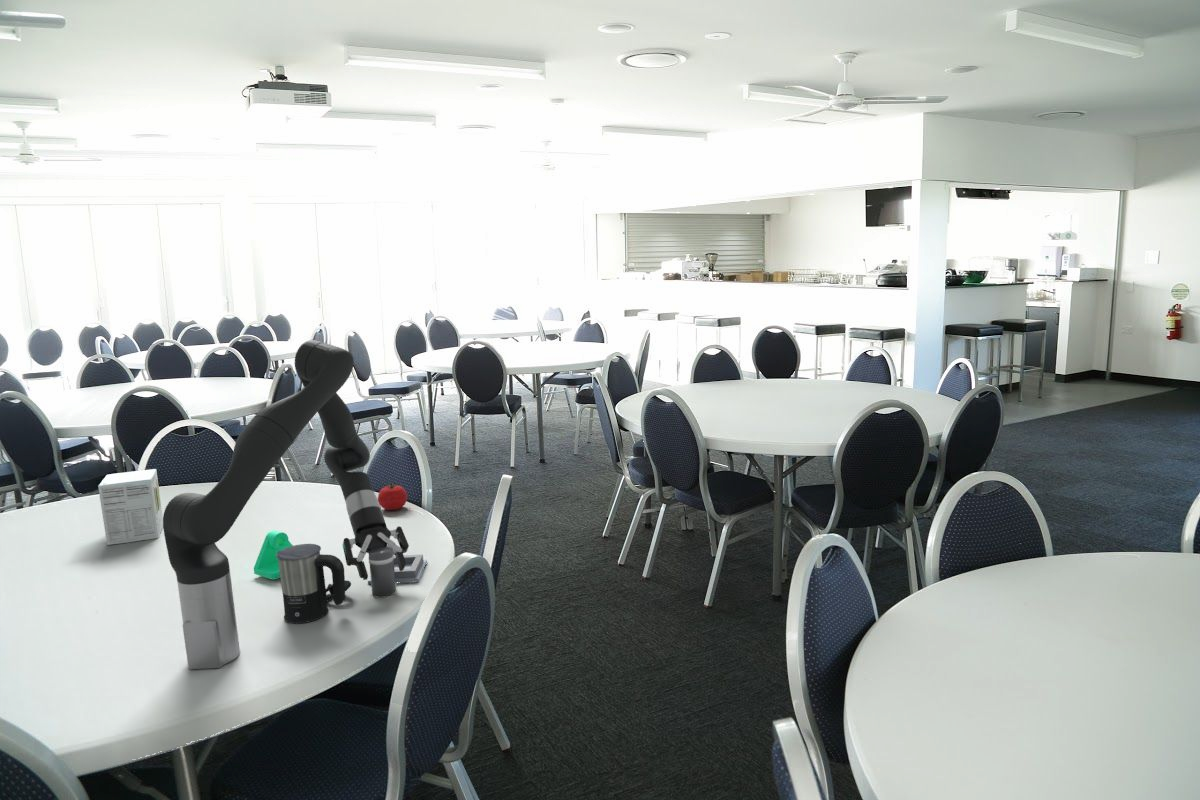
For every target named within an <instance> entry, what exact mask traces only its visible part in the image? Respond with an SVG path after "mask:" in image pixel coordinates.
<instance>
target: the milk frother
mask: <svg viewBox="0 0 1200 800" xmlns="http://www.w3.org/2000/svg"><path fill="white" fill-rule="evenodd" d="M321 550H322V547H321V546H320V545H318V544H316V543H302V544H301V543H300V544H295V545H293V546H290V547H287V548H284V549H282V550H280V551H279V552H277V553H276V557H277V558H278V563H279V571H280V577H279V578H280V587H281V591H282V598H283V608H284V616H283V620H284V621H285V622H287V623H290V624H304V623H310V622H315V621H317V620H319V619H321V618H323V617H324V616H326V615H327V614H328V612H329V608H328V604H330V603H331V602H333V603H334V604H335V605H336V606H340V605H341V604H343V603H344V601H345V600H346V591H348V589H350V587H351V586H352V582H351V581H350V580H345V579H346V578H345V577H346V576H345V567H344V563H343V562H342V561H341V560H340V558H338V557H337V556H335V555H333V554H321ZM324 567H325V568H326V567H327V568H329V570H330V571H331V575H332V576H331V578H332V583H328V585H327V586H326V579H325V571H324ZM328 592H329V594H327V593H328Z"/></svg>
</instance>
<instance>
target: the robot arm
mask: <svg viewBox="0 0 1200 800" xmlns="http://www.w3.org/2000/svg"><path fill="white" fill-rule="evenodd" d="M354 359H355V358H354V356H353V355H352V353H350V351H348V350H347V349H344V348H342V347H340V346H336V345H333V344H330V343H328V342H327V343H326V342H324V341H320V340H314V339H309V340H306V341H305V342H303V343H302V344H301V345H300V346H299V348H297V351H296V353H295V356H294V368H295V371H296V374H297V376H298V379H299V380H300V382H301V383H302V385H303V387H304V388H302V389H301V390H299V391H297V392H295V393H294V394H291V395H289V396H287V397H285V398H281V400H277V401H275V402H273V403H272V404H269V405H267V406H266V407H264V408H262V409H261V410H259V411H258V412H257V413H256V414H255V415H254V416H253V418H251V420H250V421H249V422H248V423H247V425H245V426H244V428H243V429H242V431H241V432H240V433H239V435H238V436H237V439H236V441H235V443H234V446H233V447H234V448H233V451H232V454H231V455H232V457H231V461H230V464H229V466H228V468H227V470H226V472H225V474H223V476H222V477H221V479H219V481H218V482H217V483H216V484H215V485H214V487H213V488H212V489H211V490H210V491H209V492H208V493H206V494H200V493H195V492H184V493H180V494H178V495H175V496H174V497H173V498H172V499H171V500H169V502H168V503H167V505H166V506H165V509H164V512H163V528H162V530H163V534H164V535H163V536H164V539H165V545H166V550H167V555H168V556H167V557H168V561H169V563H170V565H171V567H172V570H173V571H174V573H175V576H176V581H177V588H178V589H177V590H178V597H179V604H180V610H181V617H182V632H183V639H184V644H185V653H186V654H185V655H186V661H187V667H188V670H205V669H220V668H222V667H223V666H224V665H226V664H228V663H230V662H232V661H234V660H235V659H237V658H238V656H239V655H240V653H241V648H240V641H239V632H238V625H237V618H236V617H237V616H236V608H235V601H234V595H233V594H234V593H233V587H232V586H233V585H232V578H231V568H230V563H229V558H228V556H227V555H226V554H225V553H224V552H223V551H221V550H220V548H219V547H218V546H217V545H216V543H217V542H219V541H220V540H221V539H223V538H224V537H225V536H226V534H227V533H228V532H229V531H230V529H232V527H233V525H234V523H235V522H236V521H237V519H238V517H239V516H240V514H241V512H242V511H243V510H244V508H245V506H246V505H247V504H248V502H249V500H250V499H251V497H252V496H253V494H254V493H255V491H256V490H257V488H259V486H260V485H261V483H263V480H265V478H266V477H267V475H268V474H269V473H270V471H271V470H272V469H273V468H274V467H275V465H277V463H278V462H279V460H281V459H282V457H283V456H284V455H285V453H286V452H287V450H289V448H290V447H291V446H292V444H293V443H294V442H295V441H296V440H297V438H298V436H299V435H300V433H301V432H302V431H303V430H305V429H304V428H305V427H306V426H307V425H308V424H309V423H310V421H311V420H312V419H313V418H314V416H315V415H316V414H318V416H319V419H320V422H321V425H322V429H323V431H324V434H325V439H326V441H327V443H328V444H329V445H330V447H328V448H326V450H325V452H324V456H323V458H324V463H325V465H326V467H327V469H328V470H329V471H330V473H331V475H333V477H334V478H335V479H336V481H337V482H338V485H339V486H340V489H341V491H342V495H343V499H344V502H345V507H346V508H345V509H346V511H347V515H348V518H349V521H350V526H351V528H352V529H351V530H352V531H353V534H354V538H350V539H349V537H345V538H344V539H343V541H342V549H343V554H344V558H345V562H346V563H345V564H346V565H347V566H348V567H350V566H355V567H356V569H357V573H358V576H359V578H360V579H363V581H365V580H368V579H369V574H368V571H367V568H366V565H365V561H363V560H364V558H365V556H366V554H369V551H370V550H372V549H376V548H380V547H390V548H392V549H393V554H394V556H396V561H397V564H398V567H399V570H400V571H403V570H404V568H405V565H406V562H405V559H404V556H403V555H404V554H405V553H407V552H408V549H409V546H410V545H409V542H408V539H407V538H406V535H405V533H404V531H403V528H402V527H401V526H396V528H395V529H391V530H390V529H389V528H388V526H387V524H386V520H385V517H384V514H383V510H382V507H381V506H380V504H379V502H378V496H376V493H375V490H374V487H373V484H372V480H371V478H370V476H369V474H367V473H366V472H363V471H353V470H356V469H360V468H363V467H365V466H366V465H367V464H368V463H369V461H370V459H371V458H370V456H371V454H370V450H369V448H368V446H367V445H366V443H365V442H364V441H363V440H362V438H361V437H360V436H359V434H358V432H357V430H356V429H357V428H356V425H355V421H354V419H353V414H352V413H351V410H350V408H349V407H348V405H347V404H346V403H345V402H344V401H343V399H342V398H341V397H340V395H339V394H338V392H339V390H340V389H341V388H342V387H343V386H344V385H345V383H346V382H347V381H348V379H349V378H350V376H351V374H352V371H353V368H354V364H355V362H354ZM391 537H393V538H394V539H395V540H397V542H398V545H397V544H396V543H395V541H393V540H392V539H390V538H391ZM354 545H355V546H357V547H358V548H359V550H360V551H359V553H358V555H357V556H356V557H354V555H353V551H352V549H353V548H354Z"/></svg>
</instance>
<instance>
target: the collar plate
mask: <svg viewBox="0 0 1200 800" xmlns="http://www.w3.org/2000/svg"><path fill="white" fill-rule="evenodd" d="M403 556H404V559H405V562H406V565H405V568H404V570H403V571H400V570H399V567H398V564H397V561H396V556H395V555H394V569H395V581H396V584H397V582H398V583H399V582H402V583H417V581H420V580H419V579H421V577H422V575H423V573H424V571H423V570H425V568H426V566H427V564H426V563H428V560H427V559H424V554H409V555H408V554H407V555H404V554H403ZM425 565H426V566H425ZM424 567H425V568H424ZM422 572H423V573H422ZM421 574H422V575H421ZM413 581H414V582H413ZM415 581H416V582H415ZM399 584H400V583H399ZM367 585H371V575H370V576H369V577H368V578H367Z"/></svg>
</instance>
